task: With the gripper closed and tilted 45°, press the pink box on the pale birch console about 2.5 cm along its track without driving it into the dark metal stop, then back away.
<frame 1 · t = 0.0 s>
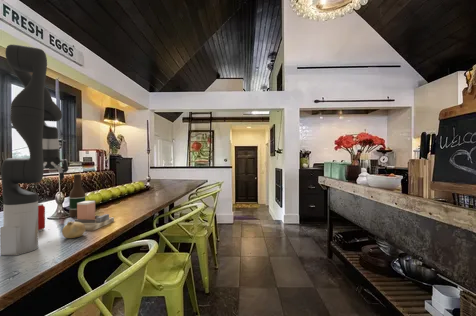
hand: (50, 180, 117), 22 cm above the table, tool pointing down, fingers open, 8 cm apart
pink box: (86, 211, 118), point 7 cm above the table, slide at 0.0 cm
beer bottle: (77, 216, 136), on the table
beverage can: (36, 231, 108), on the table
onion: (74, 237, 99), on the table
console: (90, 225, 116), on the table
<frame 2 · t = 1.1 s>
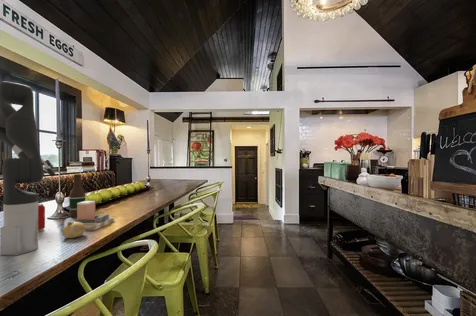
hand: (48, 175, 119), 24 cm above the table, tool tilted 45°, fingers open, 5 cm apart
nothing on the table moved.
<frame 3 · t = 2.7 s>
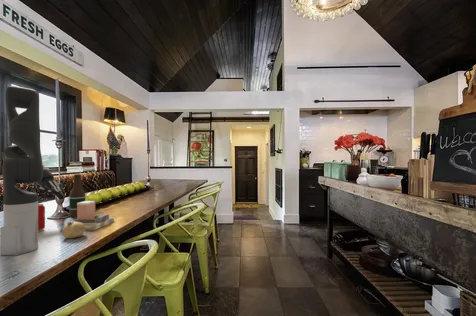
hand: (63, 198, 118), 13 cm above the table, tool tilted 45°, fingers closed
nothing on the table moved.
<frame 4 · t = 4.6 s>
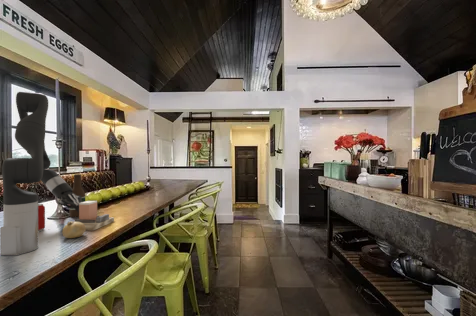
hand: (82, 212, 118), 6 cm above the table, tool tilted 45°, fingers closed
pink box: (88, 211, 118), point 7 cm above the table, slide at 1.0 cm, touching gripper
everything else where it was.
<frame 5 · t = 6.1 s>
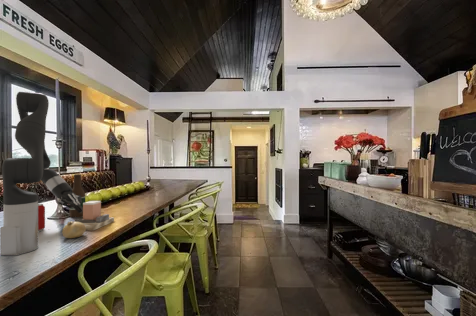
hand: (82, 211, 118), 6 cm above the table, tool tilted 45°, fingers closed
pink box: (92, 211, 117), point 7 cm above the table, slide at 3.0 cm
everything else where it was.
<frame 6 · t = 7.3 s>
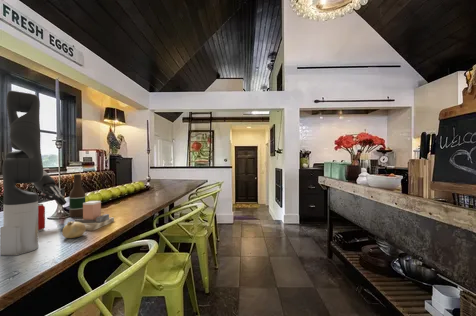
hand: (64, 203, 118), 10 cm above the table, tool tilted 45°, fingers closed
nothing on the table moved.
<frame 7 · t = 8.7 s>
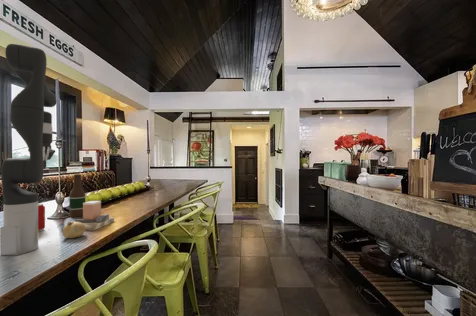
hand: (42, 168, 114), 28 cm above the table, tool pointing down, fingers closed
nothing on the table moved.
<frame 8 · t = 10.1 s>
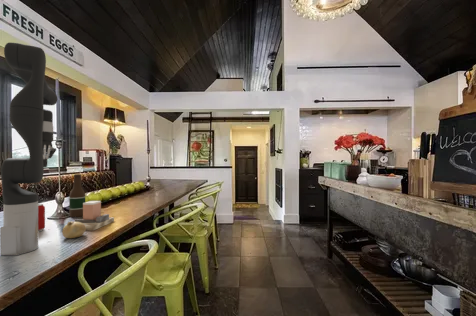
hand: (43, 167, 114), 29 cm above the table, tool pointing down, fingers closed
nothing on the table moved.
at the end: pink box slide at 3.0 cm; beer bottle moved 0.2 cm from its start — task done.
